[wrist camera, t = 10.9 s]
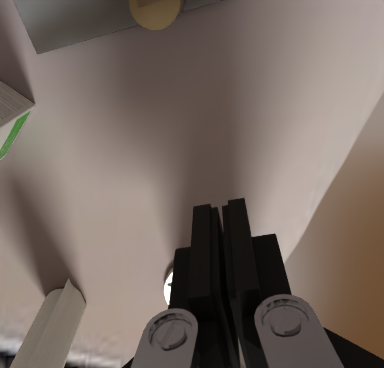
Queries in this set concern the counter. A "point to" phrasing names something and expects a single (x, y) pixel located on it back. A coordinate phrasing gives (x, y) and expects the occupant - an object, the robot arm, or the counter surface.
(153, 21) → the bar
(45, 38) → the wooden gate latch
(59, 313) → the paper towel roll
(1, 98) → the skincare box
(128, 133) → the counter surface
